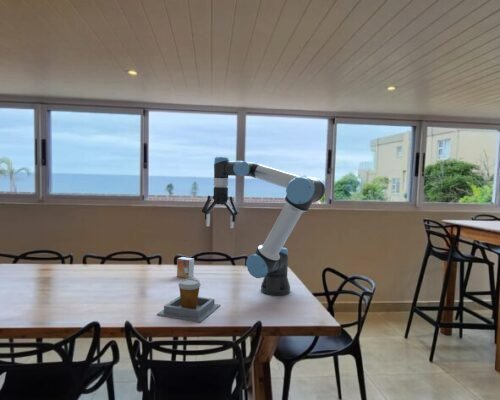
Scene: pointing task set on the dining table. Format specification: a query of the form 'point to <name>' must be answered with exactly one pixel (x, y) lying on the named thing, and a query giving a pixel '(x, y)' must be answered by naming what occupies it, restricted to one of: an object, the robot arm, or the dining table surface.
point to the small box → (185, 267)
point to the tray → (189, 310)
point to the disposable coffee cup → (189, 293)
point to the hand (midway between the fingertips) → (219, 227)
